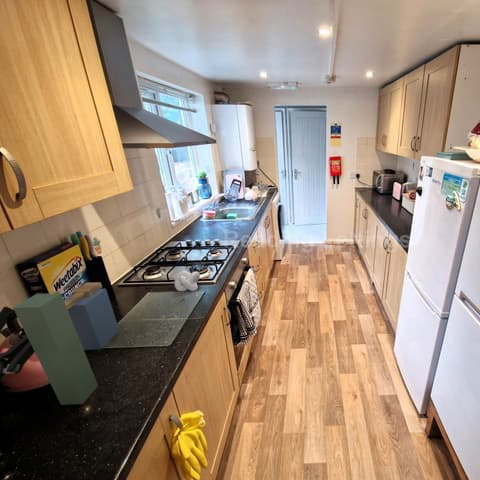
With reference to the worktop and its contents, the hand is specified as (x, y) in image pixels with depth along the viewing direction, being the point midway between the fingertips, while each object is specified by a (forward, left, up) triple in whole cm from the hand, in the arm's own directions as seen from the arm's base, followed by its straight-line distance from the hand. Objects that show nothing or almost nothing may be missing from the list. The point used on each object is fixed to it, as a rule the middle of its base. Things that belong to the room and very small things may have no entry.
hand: (29, 308), depth 74 cm
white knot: (+20, +53, -27) cm, 62 cm away
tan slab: (0, +13, -7) cm, 14 cm away
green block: (+12, -7, -27) cm, 30 cm away
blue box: (+1, +16, -27) cm, 31 cm away
